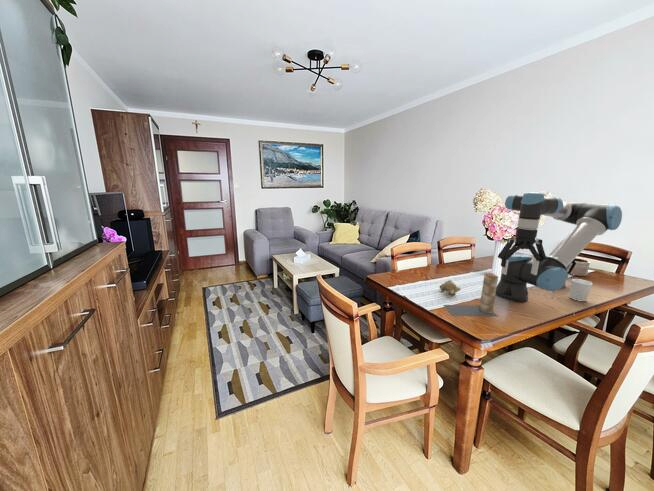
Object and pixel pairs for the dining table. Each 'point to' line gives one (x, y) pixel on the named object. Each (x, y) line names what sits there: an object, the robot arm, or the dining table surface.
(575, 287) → the white cup
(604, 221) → the robot arm
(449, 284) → the turtle figurine
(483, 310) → the wooden block
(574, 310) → the dining table surface
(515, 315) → the dining table surface
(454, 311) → the rubber mat
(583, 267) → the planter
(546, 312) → the dining table surface
